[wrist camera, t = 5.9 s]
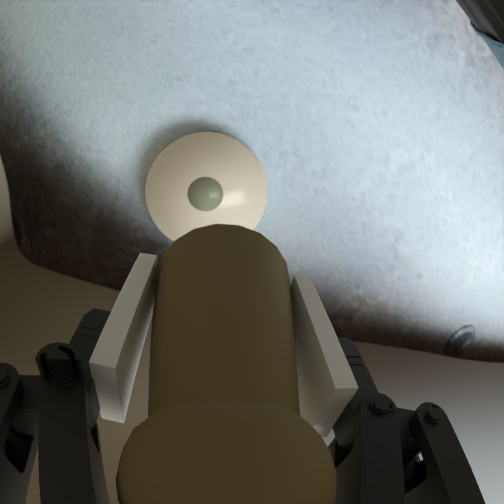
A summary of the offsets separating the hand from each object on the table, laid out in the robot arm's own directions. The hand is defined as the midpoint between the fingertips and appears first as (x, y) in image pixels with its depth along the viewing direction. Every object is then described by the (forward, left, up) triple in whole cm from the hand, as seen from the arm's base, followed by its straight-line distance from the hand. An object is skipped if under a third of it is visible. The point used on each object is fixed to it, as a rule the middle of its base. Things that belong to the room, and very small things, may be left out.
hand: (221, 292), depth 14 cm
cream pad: (0, -2, -17) cm, 17 cm away
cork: (0, 0, 0) cm, 0 cm away
